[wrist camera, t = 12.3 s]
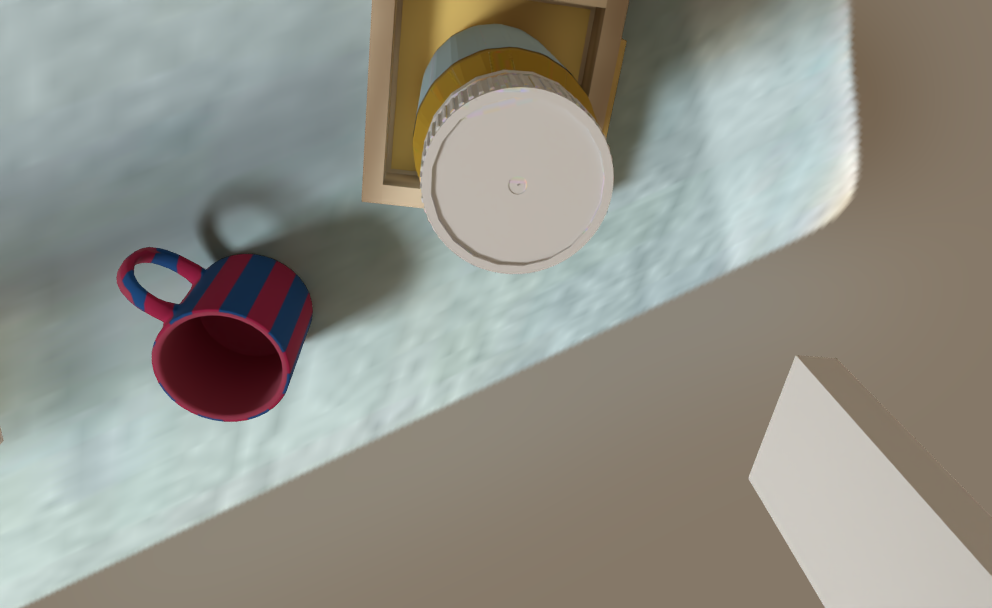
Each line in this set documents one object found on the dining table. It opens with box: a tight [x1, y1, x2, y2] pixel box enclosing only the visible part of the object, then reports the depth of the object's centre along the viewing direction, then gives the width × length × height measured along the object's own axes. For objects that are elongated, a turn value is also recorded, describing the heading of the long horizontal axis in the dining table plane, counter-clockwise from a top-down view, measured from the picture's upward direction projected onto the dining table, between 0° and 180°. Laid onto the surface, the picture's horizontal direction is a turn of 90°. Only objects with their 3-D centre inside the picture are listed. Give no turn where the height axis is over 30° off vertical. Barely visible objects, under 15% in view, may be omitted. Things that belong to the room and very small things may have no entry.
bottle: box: [413, 23, 614, 274], centre depth 28 cm, size 7×7×15 cm
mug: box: [116, 247, 313, 422], centre depth 37 cm, size 7×10×7 cm
